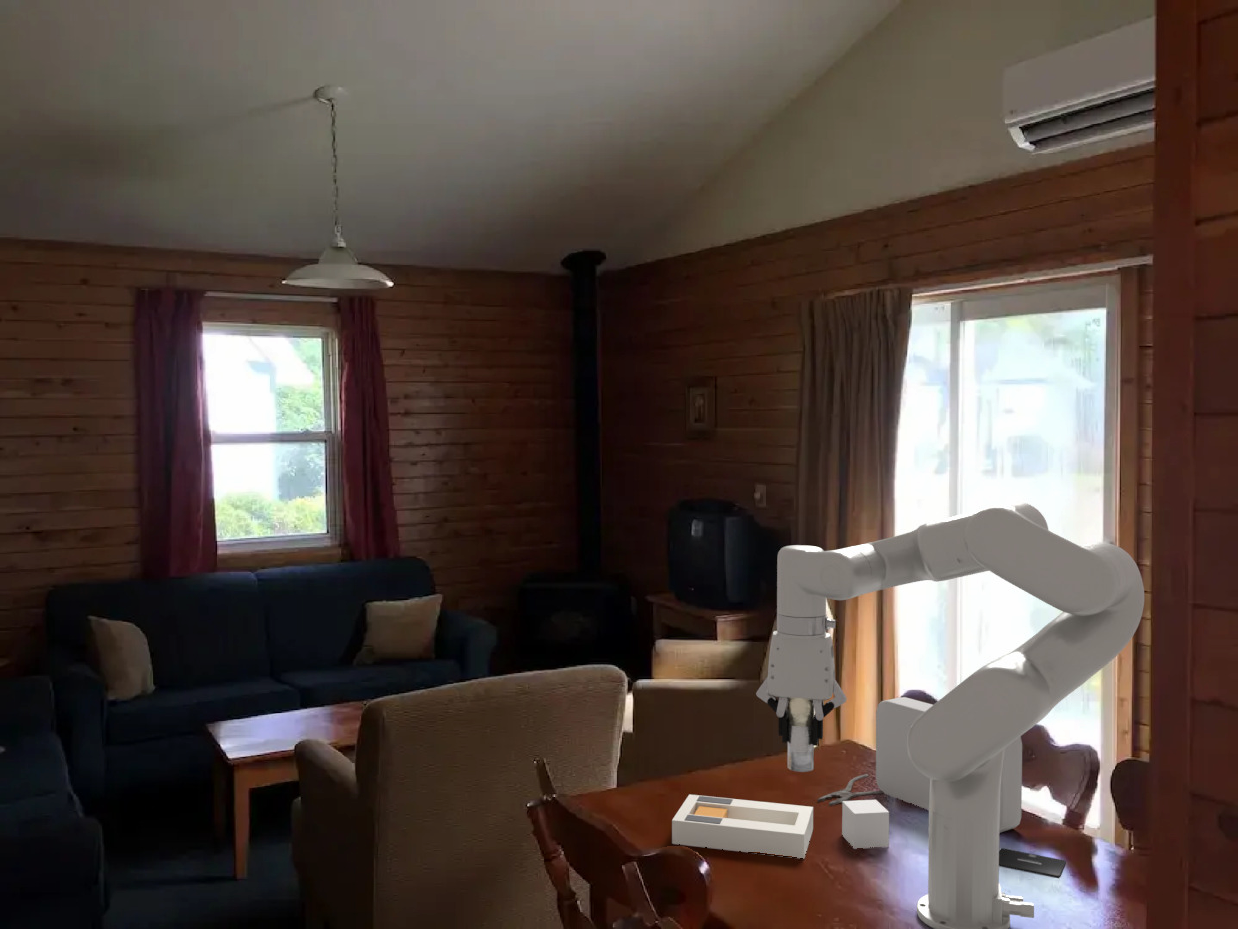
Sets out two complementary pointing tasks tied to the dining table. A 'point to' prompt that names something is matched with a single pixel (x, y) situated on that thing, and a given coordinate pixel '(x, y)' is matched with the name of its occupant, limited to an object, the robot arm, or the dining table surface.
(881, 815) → the white cube
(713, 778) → the dining table surface
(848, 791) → the pliers
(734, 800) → the switch box
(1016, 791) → the rounded white slab
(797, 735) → the silver metal cylinder
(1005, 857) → the solid state drive
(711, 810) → the switch tab
